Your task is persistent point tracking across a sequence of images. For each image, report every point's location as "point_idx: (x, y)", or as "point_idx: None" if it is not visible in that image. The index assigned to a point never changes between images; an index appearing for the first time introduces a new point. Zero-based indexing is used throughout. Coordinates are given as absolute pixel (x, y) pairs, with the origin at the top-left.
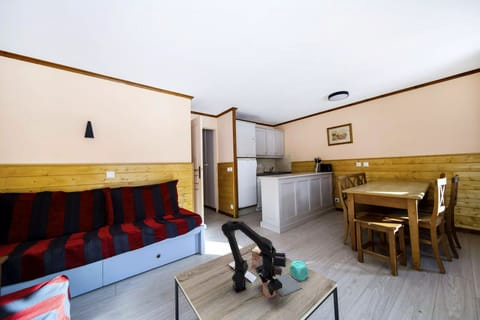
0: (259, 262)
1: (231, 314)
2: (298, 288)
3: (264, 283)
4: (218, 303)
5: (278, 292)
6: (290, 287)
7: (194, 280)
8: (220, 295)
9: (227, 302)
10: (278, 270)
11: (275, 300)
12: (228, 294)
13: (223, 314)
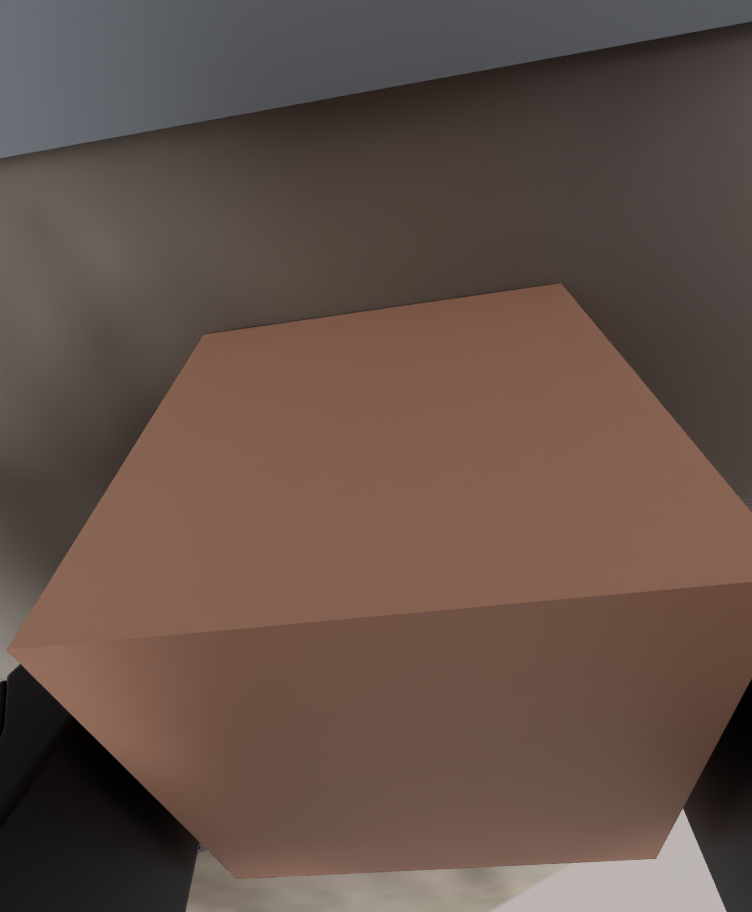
0: None
1: (535, 876)
2: None
3: (243, 849)
4: (337, 909)
5: (522, 59)
6: None
7: None
8: (223, 899)
9: (352, 880)
10: None
11: (746, 381)
12: (220, 868)
13: (495, 900)
